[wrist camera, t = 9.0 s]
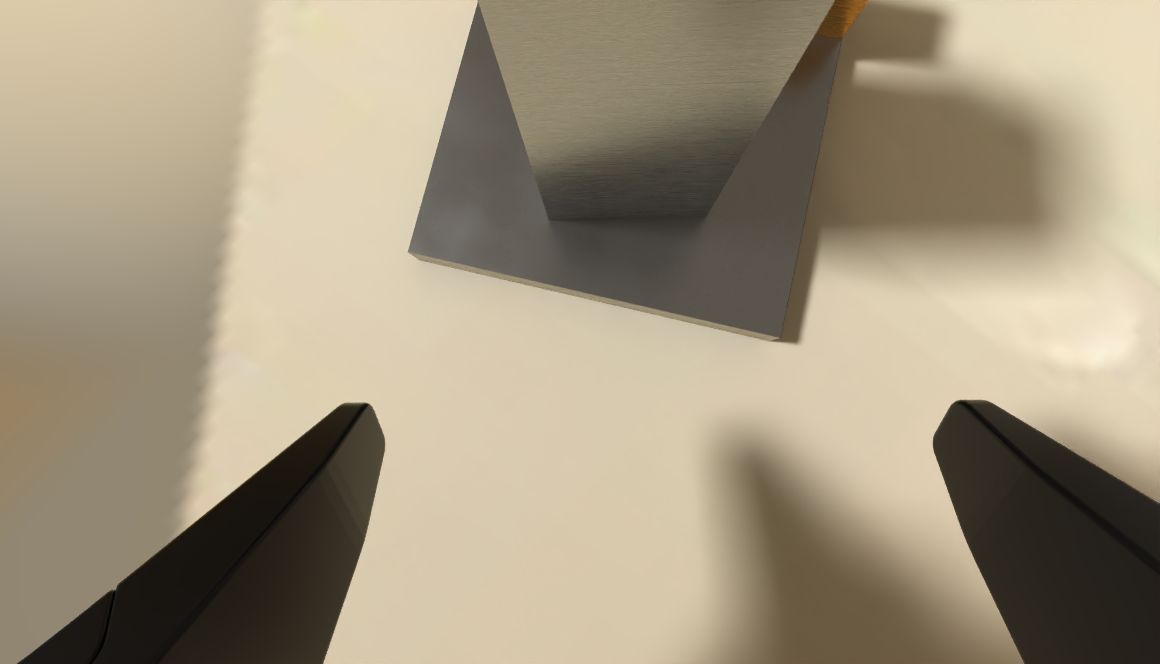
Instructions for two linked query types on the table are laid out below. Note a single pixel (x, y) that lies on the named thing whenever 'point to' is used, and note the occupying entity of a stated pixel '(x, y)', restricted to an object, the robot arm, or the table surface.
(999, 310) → the table surface
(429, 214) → the coupler plate
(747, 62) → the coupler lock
